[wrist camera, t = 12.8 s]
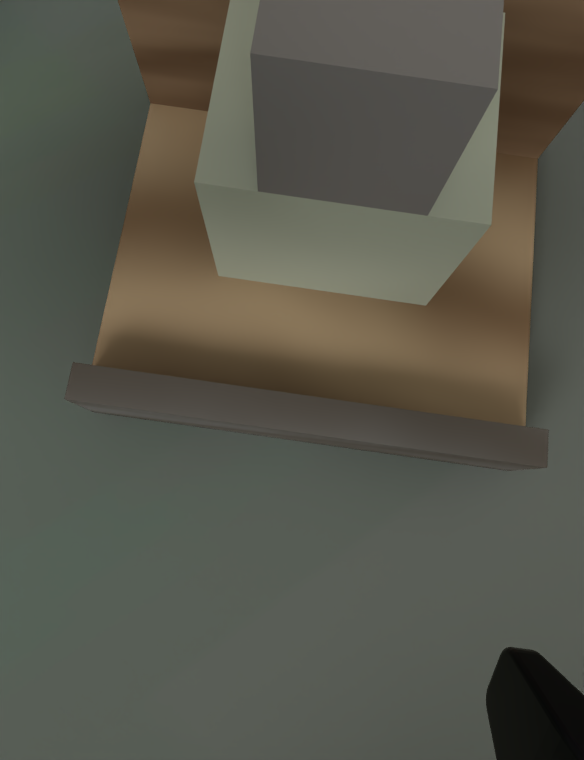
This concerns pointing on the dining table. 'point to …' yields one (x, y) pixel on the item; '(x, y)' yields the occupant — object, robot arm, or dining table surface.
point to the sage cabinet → (352, 143)
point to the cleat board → (321, 308)
